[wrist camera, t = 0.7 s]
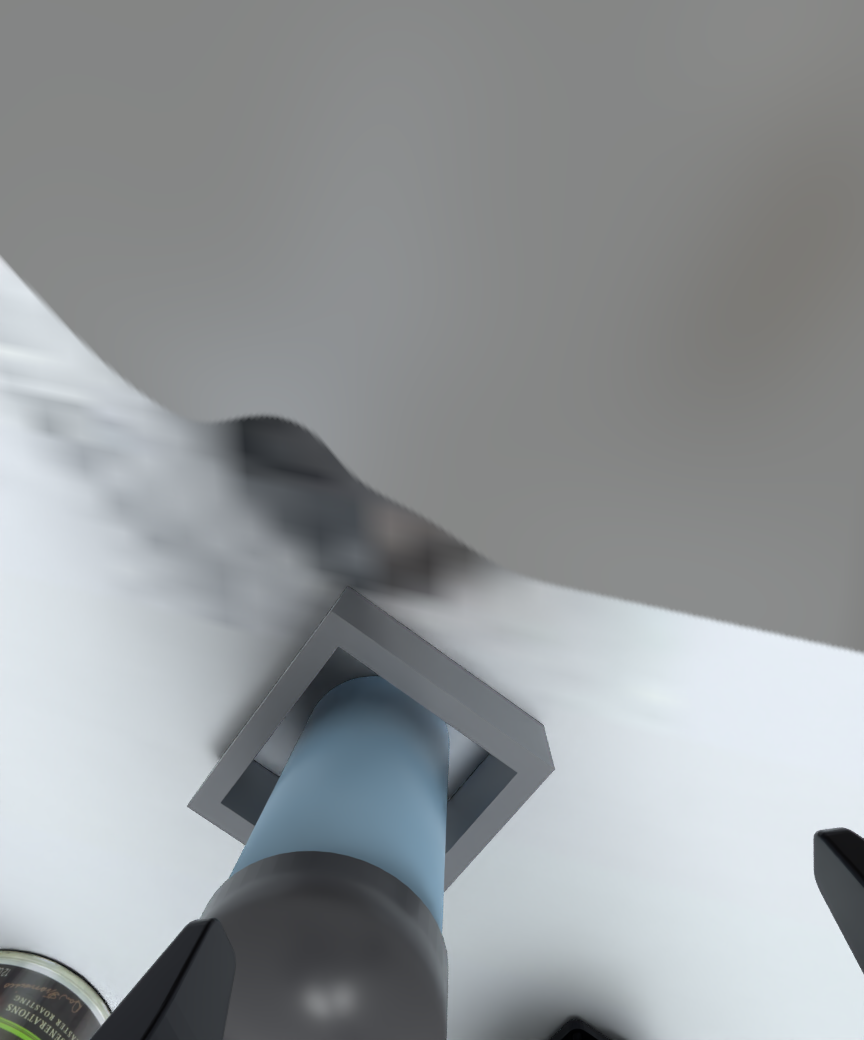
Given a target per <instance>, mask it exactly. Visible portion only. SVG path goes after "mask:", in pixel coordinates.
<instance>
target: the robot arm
mask: <svg viewBox="0 0 864 1040" xmlns="http://www.w3.org/2000/svg"><path fill="white" fill-rule="evenodd" d="M814 875H815V880H816V883H817V885H818V888H819V890H820V892H821V894H822V896H823V898H824V900H825V902H826V904H827V905H828V907H829V909H830V911H831V913H832V915H833V917H834V919H835V921H836V922H837V924H838V926H839V928H840V930H841V932H842V934H843V936H844V938H845V940H846V941H847V943H848V945H849V947H850V949H851V951H852V953H853V955H854V957H855V958H856V960H857V962H858V964H859V966H860V968H861V970H862V972H863V974H864V838H862V837H861V836H859V835H858V834H856V833H855V832H853V831H851V830H849V829H846V828H832V829H825V830H819V831H817V832H816V833H815V834H814ZM235 968H236V957H235V952H234V949H233V947H232V945H231V943H230V941H229V939H228V937H227V935H226V932H225V930H224V928H223V926H222V924H221V922H220V921H219V920H218V919H217V918H205V919H198V920H194V921H192V922H190V923H189V924H188V925H187V926H186V927H185V928H184V929H183V930H182V931H181V932H180V933H179V935H178V936H177V937H176V938H175V939H174V941H173V942H172V943H171V944H170V945H169V946H168V948H167V949H166V950H165V951H164V952H163V953H162V955H161V956H160V957H159V958H158V959H157V961H156V962H155V963H154V964H153V965H152V966H151V968H150V969H149V970H148V971H147V972H146V973H145V975H144V976H143V977H142V978H141V979H140V981H139V982H138V983H137V984H136V985H135V986H134V988H133V989H132V990H131V991H130V992H129V993H128V995H127V996H126V997H125V998H124V999H123V1001H122V1002H121V1003H120V1004H119V1005H118V1006H117V1008H116V1009H115V1010H114V1011H113V1012H112V1013H111V1015H110V1016H109V1017H108V1018H107V1019H106V1021H105V1022H104V1023H103V1024H102V1025H101V1026H100V1028H99V1029H98V1030H97V1031H96V1032H95V1033H94V1035H93V1036H92V1037H91V1038H90V1039H89V1040H223V1036H224V1030H225V1025H226V1019H227V1014H228V1008H229V1003H230V997H231V991H232V986H233V980H234V975H235ZM550 1040H610V1039H608V1038H607V1037H605V1036H604V1035H602V1034H601V1033H599V1032H598V1031H596V1030H595V1029H593V1028H592V1027H590V1026H589V1025H587V1024H586V1023H584V1022H583V1021H581V1020H576V1019H575V1020H571V1021H569V1022H568V1023H567V1024H566V1025H565V1026H564V1027H563V1028H562V1029H561V1030H560V1031H559V1032H558V1033H556V1034H555V1035H554V1036H553V1037H552V1038H551V1039H550Z"/></svg>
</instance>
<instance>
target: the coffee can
mask: <svg viewBox="0 0 864 1040" xmlns="http://www.w3.org/2000/svg"><path fill="white" fill-rule="evenodd" d="M110 1015H111V1013H110V1011H109V1010H108V1008H107V1006H106V1004H105V1003H104V1001H103V1000H102V999H101V997H100V996H99V995H98V994H97V993H96V991H95V990H94V989H93V988H92V987H91V986H90V985H89V984H88V983H87V982H85V981H84V980H83V979H82V978H81V977H79V976H78V975H76V974H75V973H73V972H71V971H70V970H68V969H67V968H66V967H64V966H61V965H60V964H58V963H56V962H54V961H52V960H49V959H46V958H43V957H41V956H37V955H34V954H30V953H25V952H17V951H0V1040H89V1039H90V1038H91V1037H92V1036H93V1035H94V1033H95V1032H96V1031H97V1030H98V1029H99V1028H100V1026H101V1025H102V1024H103V1023H104V1022H105V1021H106V1019H107V1018H108V1017H109V1016H110Z"/></svg>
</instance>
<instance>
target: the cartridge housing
mask: <svg viewBox="0 0 864 1040" xmlns="http://www.w3.org/2000/svg"><path fill="white" fill-rule="evenodd" d="M338 647H340V648H341V649H342V650H344V651H345V652H347V653H348V654H349V655H351V656H352V657H354V658H355V659H357V660H358V661H359V662H361V663H362V664H364V665H365V666H367V667H368V668H369V669H371V670H372V671H374V672H375V673H376V674H378V675H379V676H381V677H382V678H384V679H385V680H386V681H388V682H389V683H391V684H392V685H394V686H395V687H396V688H398V689H399V690H401V691H402V692H404V693H405V694H406V695H408V696H409V697H411V698H412V699H413V700H415V701H416V702H418V703H419V704H421V705H422V706H423V707H425V708H426V709H428V710H429V711H431V712H432V713H433V714H435V715H436V716H438V717H439V718H440V719H442V720H443V721H445V722H446V723H448V724H449V725H450V726H452V727H453V728H455V729H456V730H458V731H459V732H460V733H462V734H463V735H465V736H466V737H467V738H469V739H470V740H472V741H473V742H475V743H476V744H477V745H479V746H480V747H482V748H483V749H485V750H486V751H487V752H489V753H490V754H489V755H488V756H487V757H486V758H485V760H484V761H483V762H482V763H481V764H480V765H479V767H478V768H477V769H476V770H475V771H474V772H473V774H472V775H471V776H470V777H469V778H468V779H467V781H466V782H465V783H464V784H463V785H462V786H461V787H460V789H459V790H458V791H457V792H456V793H455V794H454V796H453V797H452V798H451V799H450V800H449V801H448V803H447V819H446V845H445V870H444V892H445V891H446V890H447V888H448V887H449V886H450V885H451V884H452V883H453V882H454V881H455V880H456V878H457V877H458V876H459V875H460V874H461V873H462V872H463V871H464V870H465V868H466V867H467V866H468V865H469V864H470V863H471V862H472V861H473V860H474V858H475V857H476V856H477V855H478V854H479V853H480V852H481V851H482V850H483V848H484V847H485V846H486V845H487V844H488V843H489V842H490V841H491V840H492V838H493V837H494V836H495V835H496V834H497V833H498V832H499V831H500V830H501V828H502V827H503V826H504V825H505V824H506V823H507V822H508V821H509V820H510V818H511V817H512V816H513V815H514V814H515V813H516V812H517V811H518V810H519V808H520V807H521V806H522V805H523V804H524V803H525V802H526V801H527V800H528V798H529V797H530V796H531V795H532V794H533V793H534V792H535V791H536V790H537V788H538V787H539V786H540V785H541V784H542V783H543V782H544V781H545V780H546V778H547V777H548V776H549V775H550V774H551V773H552V772H553V771H554V770H555V768H554V764H553V760H552V756H551V752H550V748H549V744H548V741H547V737H546V733H545V729H544V725H542V724H541V723H539V722H538V721H537V720H535V719H534V718H532V717H531V716H530V715H528V714H527V713H525V712H524V711H523V710H521V709H520V708H518V707H517V706H516V705H514V704H513V703H511V702H510V701H509V700H507V699H506V698H504V697H503V696H502V695H500V694H499V693H497V692H496V691H495V690H493V689H492V688H490V687H489V686H488V685H486V684H485V683H483V682H482V681H481V680H479V679H478V678H476V677H475V676H474V675H472V674H471V673H469V672H468V671H467V670H465V669H464V668H462V667H461V666H460V665H458V664H457V663H455V662H454V661H453V660H451V659H450V658H448V657H447V656H446V655H444V654H443V653H441V652H440V651H439V650H437V649H436V648H434V647H433V646H432V645H430V644H429V643H427V642H426V641H425V640H423V639H422V638H420V637H419V636H418V635H416V634H415V633H413V632H412V631H411V630H409V629H408V628H406V627H405V626H404V625H402V624H401V623H399V622H398V621H396V620H395V619H394V618H392V617H391V616H389V615H388V614H387V613H385V612H384V611H382V610H381V609H380V608H378V607H377V606H375V605H374V604H373V603H371V602H370V601H368V600H367V599H366V598H364V597H363V596H361V595H360V594H359V593H357V592H356V591H354V590H353V589H352V588H350V587H349V586H347V588H346V589H345V590H344V592H343V593H342V595H341V596H340V597H339V599H338V600H337V601H336V603H335V604H334V605H333V607H332V608H331V609H330V611H329V612H328V613H327V615H326V616H325V618H324V619H323V620H322V622H321V623H320V624H319V626H318V627H317V628H316V630H315V631H314V632H313V634H312V635H311V636H310V638H309V639H308V641H307V642H306V643H305V645H304V646H303V647H302V649H301V650H300V651H299V653H298V654H297V655H296V657H295V658H294V659H293V661H292V662H291V664H290V665H289V666H288V668H287V669H286V670H285V672H284V673H283V674H282V676H281V677H280V678H279V680H278V681H277V683H276V684H275V685H274V687H273V688H272V689H271V691H270V692H269V693H268V695H267V696H266V697H265V699H264V700H263V701H262V703H261V704H260V706H259V707H258V708H257V710H256V711H255V712H254V714H253V715H252V716H251V718H250V719H249V720H248V722H247V723H246V724H245V726H244V727H243V729H242V730H241V731H240V733H239V734H238V735H237V737H236V738H235V739H234V741H233V742H232V743H231V745H230V746H229V748H228V749H227V750H226V752H225V753H224V754H223V756H222V757H221V758H220V760H219V761H218V762H217V764H216V765H215V767H214V768H213V770H212V771H211V772H210V774H209V775H208V777H207V778H206V780H205V781H204V782H203V784H202V785H201V787H200V788H199V790H198V791H197V792H196V794H195V795H194V797H193V798H192V800H191V801H190V802H189V804H188V805H187V807H188V808H190V809H191V810H193V811H195V812H196V813H198V814H199V815H201V816H202V817H204V818H205V819H207V820H208V821H210V822H211V823H213V824H214V825H216V826H217V827H219V828H220V829H222V830H223V831H225V832H226V833H228V834H229V835H231V836H232V837H234V838H235V839H237V840H238V841H240V842H241V843H243V844H244V845H246V843H247V841H248V839H249V837H250V835H251V833H252V831H253V829H254V827H255V825H256V823H257V821H258V819H259V817H260V815H261V813H262V811H263V809H264V807H265V805H266V803H267V801H268V799H269V798H270V796H271V794H272V792H273V790H274V788H275V786H276V784H277V782H278V780H279V777H277V776H276V775H274V774H273V773H271V772H270V771H268V770H267V769H265V768H264V767H263V766H261V765H260V764H258V763H257V762H255V761H254V760H253V759H254V758H255V756H256V755H257V754H258V752H259V751H260V750H261V748H262V747H263V746H264V744H265V743H266V742H267V741H268V739H269V738H270V737H271V735H272V734H273V733H274V731H275V730H276V729H277V727H278V726H279V725H280V723H281V722H282V721H283V719H284V718H285V717H286V715H287V714H288V713H289V711H290V710H291V709H292V707H293V706H294V705H295V703H296V702H297V701H298V699H299V698H300V697H301V695H302V694H303V693H304V691H305V690H306V689H307V687H308V686H309V685H310V684H311V682H312V681H313V680H314V678H315V677H316V676H317V674H318V673H319V672H320V670H321V669H322V668H323V666H324V665H325V664H326V662H327V661H328V660H329V658H330V657H331V656H332V654H333V653H334V652H335V650H336V649H337V648H338Z"/></svg>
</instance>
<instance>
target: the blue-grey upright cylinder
mask: <svg viewBox="0 0 864 1040" xmlns="http://www.w3.org/2000/svg"><path fill="white" fill-rule="evenodd" d="M448 768H449V735H448V730H447V726H446V724H445V721H443V720H442V719H440V718H439V717H438V716H436V715H435V714H433V713H432V712H431V711H429V710H428V709H426V708H425V707H423V706H422V705H421V704H419V703H418V702H416V701H415V700H413V699H412V698H411V697H409V696H408V695H406V694H405V693H404V692H402V691H401V690H399V689H398V688H396V687H395V686H394V685H392V684H391V683H389V682H388V681H386V680H385V679H384V678H382V677H380V676H368V677H360V678H355V679H352V680H349V681H346V682H344V683H342V684H340V685H338V686H336V687H335V688H333V689H332V690H330V691H329V692H328V693H327V694H326V695H324V697H323V698H322V699H321V700H320V701H319V702H318V704H317V705H316V707H315V708H314V710H313V712H312V714H311V716H310V718H309V720H308V722H307V724H306V726H305V728H304V730H303V732H302V734H301V736H300V738H299V740H298V742H297V744H296V746H295V748H294V750H293V752H292V754H291V756H290V758H289V760H288V762H287V764H286V766H285V768H284V770H283V772H282V774H281V776H280V778H279V780H278V782H277V784H276V786H275V788H274V790H273V792H272V794H271V796H270V798H269V799H268V801H267V803H266V805H265V807H264V809H263V811H262V813H261V815H260V817H259V819H258V821H257V823H256V825H255V827H254V829H253V831H252V833H251V835H250V837H249V839H248V841H247V843H246V845H245V847H244V849H243V851H242V853H241V855H240V857H239V859H238V861H237V863H236V865H235V867H234V869H233V871H232V873H231V875H230V877H229V879H228V880H227V881H225V882H224V883H223V885H222V886H221V887H220V888H219V889H218V890H217V891H216V892H215V894H214V895H213V897H212V898H211V900H210V901H209V903H208V904H207V906H206V908H205V910H204V912H203V914H202V916H201V918H200V919H205V918H217V919H218V920H219V921H220V922H221V924H222V926H223V928H224V930H225V932H226V935H227V937H228V939H229V941H230V943H231V945H232V947H233V949H234V952H235V957H236V968H235V975H234V980H233V986H232V991H231V997H230V1003H229V1008H228V1014H227V1019H226V1025H225V1030H224V1036H223V1040H446V1038H447V998H448V958H447V950H446V946H445V942H444V938H443V936H442V921H443V896H444V870H445V845H446V819H447V794H448Z"/></svg>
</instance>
